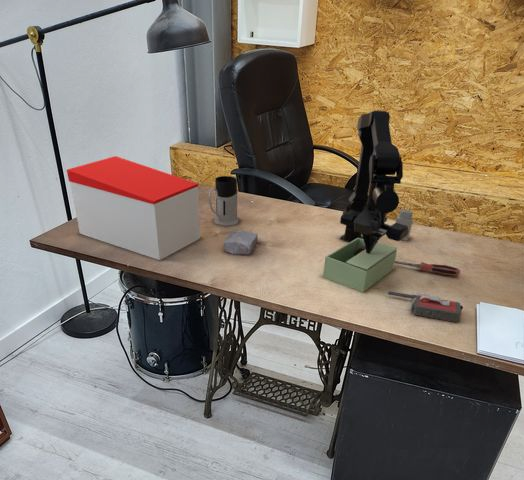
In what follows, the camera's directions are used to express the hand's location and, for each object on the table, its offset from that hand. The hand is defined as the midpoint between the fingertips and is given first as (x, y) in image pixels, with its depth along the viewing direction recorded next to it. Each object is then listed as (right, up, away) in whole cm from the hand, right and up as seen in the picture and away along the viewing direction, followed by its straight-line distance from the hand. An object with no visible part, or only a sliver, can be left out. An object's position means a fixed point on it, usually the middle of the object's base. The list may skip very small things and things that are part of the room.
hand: (368, 252), depth 138 cm
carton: (-2, -5, +5) cm, 8 cm away
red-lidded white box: (-72, +10, +21) cm, 76 cm away
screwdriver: (+17, -4, +9) cm, 19 cm away
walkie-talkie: (+12, -17, -10) cm, 24 cm away
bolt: (-2, -5, +5) cm, 7 cm away
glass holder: (-46, +17, +33) cm, 59 cm away
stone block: (-38, +5, +17) cm, 43 cm away
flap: (+1, -1, -1) cm, 1 cm away
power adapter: (+18, +11, +29) cm, 35 cm away
